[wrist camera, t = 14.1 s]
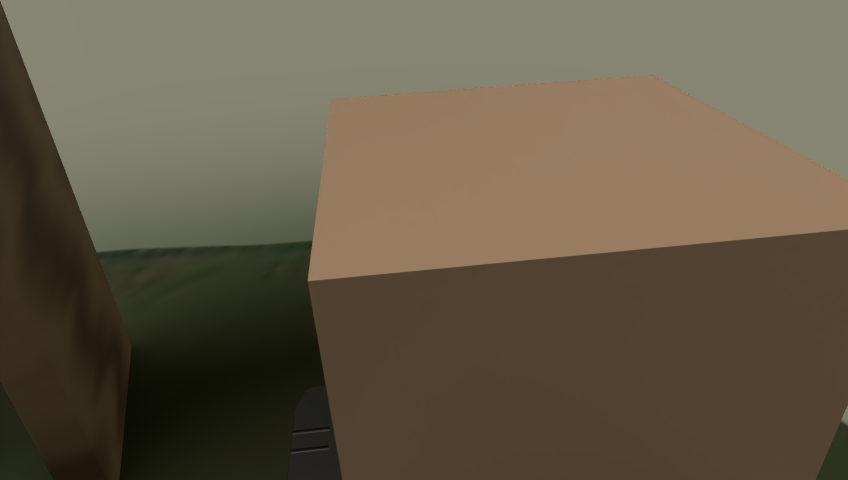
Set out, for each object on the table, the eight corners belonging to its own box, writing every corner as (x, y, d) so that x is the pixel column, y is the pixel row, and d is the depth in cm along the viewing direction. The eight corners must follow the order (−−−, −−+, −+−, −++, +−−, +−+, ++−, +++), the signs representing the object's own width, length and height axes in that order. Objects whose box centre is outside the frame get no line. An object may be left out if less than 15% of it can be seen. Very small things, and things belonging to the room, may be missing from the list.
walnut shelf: (523, 372, 27) (556, -293, 16) (73, 516, 22) (-398, -344, 10) (442, 267, 35) (423, -219, 24) (100, 353, 30) (-143, -225, 18)
